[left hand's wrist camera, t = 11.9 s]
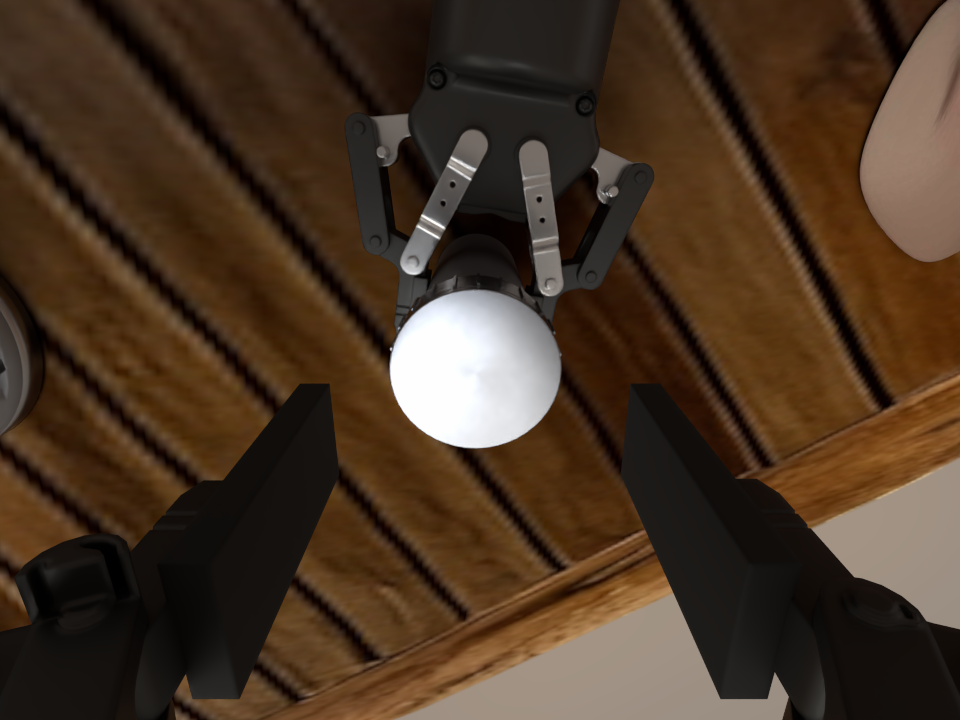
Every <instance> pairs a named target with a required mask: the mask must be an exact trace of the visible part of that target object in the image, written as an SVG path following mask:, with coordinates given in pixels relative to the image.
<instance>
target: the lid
mask: <svg viewBox="0 0 960 720" xmlns="http://www.w3.org/2000/svg"><path fill="white" fill-rule="evenodd" d="M397 329H398V330H399V332H398V334H397V335H396V337H395V339H394V341H393V343H392V346H391V348H390V350H391V355H390V363H389V374H390V381H391V386H392V390H393V393H394V396H395V398H396V400H397V402H398V404H399V406H400V408H401V409H402V411H403V412H404V414H405V415H406V416H407V417H408V419H409V420H410V421H411V422H412V423H413V424H414V425H415V426H416V427H417V428H419V429H420V430H421V431H423V432H424V433H425V434H427V435H429V436H430V437H432V438H434V439H436V440H438V441H441V442H443V443H446V444H449V445H453V446H457V447H463V448H489V447H494V446H499V445H502V444H505V443H508V442H510V441H513V440H515V439H517V438H519V437H521V436H522V435H524V434H526V433H527V432H528V431H530V430H531V429H532V428H533V427H535V426H536V425H537V424H538V423H539V422H540V421H541V420H542V419H543V417H544V416H545V415H546V413H547V412H548V411H549V409H550V407H551V406H552V404H553V402H554V400H555V398H556V395H557V393H558V389H559V385H560V380H561V357H560V356H561V351H560V349H559V347H558V344H557V342H556V339H555V337H554V335H555V334H556V333H555V331H554V328H553V326H552V324H551V322H550V319H546V317H545V314H544V313H543V311H542V309H541V306H540V304H539V302H538V301H536V302H535V301H534V300H533V298H532V297H530V296H529V295H528V294H527V293H526V292H525V291H524V290H523V288H522V287H521V286H520V287H517V286H516V285H513V284H511V283H509V282H507V281H505V280H503V278H502V277H499V278H495V277H490V276H482V275H480V273H477V275H469V276H461V277H457V275H456V276H454V278H452V279H449V280H447V281H444V282H442V283H440V284H438V285H436V283H435V284H433V286H432V288H431V289H429V290H428V291H427V292H425V293H424V294H423V295H422V296H421V297H420V298H419V297H417V298H416V299H415V301H414V304H413V306H412V307H411V308H410V310H409V311H408V313H407V315H406V314H404V315H403V318H402V320H401V322H400V324H399V326H398V328H397Z"/></svg>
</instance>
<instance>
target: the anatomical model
mask: <svg viewBox="0 0 960 720" xmlns="http://www.w3.org/2000/svg"><path fill="white" fill-rule="evenodd" d="M860 182H861V189H862V192H863V195H864V199H865V201H866V203H867V205H868V208H869V210H870V212H871V214H872V215H873V217H874V218H875V220H876V221H877V223H878V224H879V226H880V227H881V228H882V229H883V230H884V232H885V233H886V234H887V235H888V236H889V238H890V239H891V240H892V241H893V242H894V243H895V244H896V245H897V246H898V247H899V248H901V249H902V250H903V251H904V252H905V253H907V254H908V255H910V256H911V257H913V258H915V259H917V260H920V261H924V262H933V261H938V260H942V259H944V258H947V257H949V256H951V255H953V254H955V253H957V252H959V251H960V0H947V1H946V2H945V3H944V4H943V5H941V6H940V7H939V8H938V10H937V11H936V12H935V13H934V14H933V15H932V17H931V18H930V19H929V20H928V22H927V23H926V25H925V26H924V28H923V29H922V31H921V32H920V34H919V35H918V37H917V38H916V40H915V41H914V43H913V45H912V46H911V48H910V50H909V51H908V53H907V55H906V57H905V59H904V60H903V62H902V64H901V66H900V68H899V70H898V71H897V73H896V75H895V77H894V79H893V81H892V83H891V85H890V87H889V89H888V91H887V93H886V95H885V97H884V99H883V102H882V104H881V106H880V108H879V110H878V112H877V115H876V117H875V119H874V122H873V124H872V127H871V129H870V132H869V135H868V138H867V140H866V143H865V147H864V150H863V154H862V159H861V165H860Z"/></svg>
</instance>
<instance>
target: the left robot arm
mask: <svg viewBox="0 0 960 720" xmlns="http://www.w3.org/2000/svg"><path fill="white" fill-rule="evenodd" d="M42 377H43V360H42V352H41V347H40V343H39V339H38V336H37V333H36V330H35V328H34V326H33V323H32V321H31V319H30V317H29V315H28V313H27V311H26V309H25V308H24V306H23V304H22V303H21V301H20V300H19V298H18V297H17V295H16V294H15V293H14V291H13V290H12V289H11V287H10V286H9V285H8V284H7V283H6V282H5V280H4V279H3V278H2V277H1V276H0V436H1V435H3V434H5V433H6V432H8V431H10V430H11V429H13V428H14V427H16V426H17V425H18V424H19V423H21V422H22V420H23V419H24V418H25V417H26V416H27V415H28V414H29V412H30V411H31V410H32V408H33V406H34V404H35V402H36V400H37V398H38V395H39V393H40V389H41V384H42ZM338 476H339V469H338V459H337V450H336V441H335V432H334V422H333V413H332V404H331V395H330V385H329V384H299V386H298V387H297V388H296V389H295V391H294V392H293V393H292V394H291V396H290V397H289V398H288V399H287V401H286V402H285V403H284V405H283V406H282V407H281V408H280V410H279V411H278V412H277V413H276V415H275V416H274V417H273V418H272V420H271V421H270V422H269V423H268V425H267V426H266V427H265V428H264V430H263V431H262V432H261V433H260V435H259V436H258V437H257V438H256V440H255V441H254V442H253V444H252V445H251V446H250V447H249V449H248V450H247V451H246V452H245V454H244V455H243V456H242V457H241V459H240V460H239V461H238V462H237V464H236V465H235V466H234V467H233V469H232V470H231V471H230V472H229V474H228V475H227V476H226V477H225V479H224V480H223V481H202V482H201V483H199V484H198V485H196V486H195V487H193V488H191V489H190V490H188V491H187V492H185V493H184V494H182V495H181V496H180V497H179V498H178V499H177V500H176V501H175V502H174V504H173V505H172V506H171V507H170V508H169V509H168V510H167V511H166V515H165V516H162V517H161V518H160V519H159V521H158V522H157V523H156V524H155V525H154V526H153V530H150V531H149V532H148V533H147V534H146V535H145V536H144V537H143V539H142V540H141V541H140V542H139V543H138V544H137V545H136V547H135V548H134V549H133V550H132V551H131V552H129V548H128V545H127V542H126V541H125V540H124V539H122V538H121V537H120V536H118V535H112V534H105V533H101V534H93V535H85V536H81V537H78V538H75V539H71V540H68V541H65V542H62V543H60V544H58V545H56V546H54V547H52V548H50V549H48V550H46V551H44V552H42V553H40V554H39V555H38V556H36V557H35V558H33V559H32V560H31V561H29V562H28V563H27V564H25V565H24V566H23V568H22V569H21V570H20V571H19V572H18V574H17V575H16V576H15V577H14V579H15V582H16V584H17V587H18V589H19V592H20V595H21V597H22V600H23V602H24V605H25V607H26V610H27V613H28V615H29V618H30V620H31V623H32V624H31V625H28V626H23V627H19V628H15V629H10V630H6V631H2V632H0V720H176V717H175V710H174V705H173V702H172V697H173V695H174V693H175V692H176V690H177V688H178V686H179V685H180V683H181V681H182V679H183V678H184V676H185V674H186V676H187V680H188V684H189V687H190V691H191V695H192V699H240V697H241V694H242V692H243V690H244V688H245V685H246V683H247V681H248V679H249V676H250V674H251V672H252V670H253V667H254V665H255V663H256V660H257V658H258V656H259V654H260V651H261V649H262V647H263V645H264V642H265V640H266V638H267V636H268V633H269V631H270V629H271V627H272V624H273V622H274V620H275V618H276V615H277V613H278V611H279V609H280V606H281V604H282V602H283V600H284V597H285V595H286V593H287V591H288V588H289V586H290V584H291V582H292V579H293V577H294V575H295V573H296V570H297V568H298V566H299V564H300V561H301V559H302V557H303V555H304V552H305V550H306V548H307V546H308V543H309V541H310V539H311V537H312V534H313V532H314V530H315V528H316V525H317V523H318V521H319V519H320V516H321V514H322V512H323V510H324V507H325V505H326V503H327V501H328V498H329V496H330V494H331V492H332V489H333V487H334V485H335V483H336V480H337V478H338ZM621 476H622V478H623V480H624V483H625V485H626V487H627V489H628V492H629V494H630V496H631V498H632V501H633V503H634V505H635V507H636V510H637V512H638V514H639V516H640V519H641V521H642V523H643V525H644V528H645V530H646V532H647V534H648V537H649V539H650V541H651V543H652V546H653V548H654V550H655V552H656V555H657V557H658V559H659V561H660V564H661V566H662V568H663V570H664V573H665V575H666V577H667V579H668V582H669V584H670V586H671V588H672V591H673V593H674V595H675V597H676V600H677V602H678V604H679V606H680V609H681V611H682V613H683V615H684V618H685V620H686V622H687V624H688V627H689V629H690V631H691V633H692V636H693V638H694V640H695V642H696V645H697V647H698V649H699V651H700V654H701V656H702V658H703V660H704V663H705V665H706V667H707V669H708V672H709V674H710V676H711V678H712V681H713V683H714V685H715V687H716V690H717V692H718V694H719V697H720V699H767V698H768V695H769V691H770V687H771V683H772V680H773V676H774V672H775V673H776V675H777V677H778V678H779V680H780V682H781V684H782V685H783V687H784V689H785V690H786V692H787V694H788V696H789V698H788V702H787V705H786V709H785V712H784V716H783V719H782V720H960V629H956V628H951V627H947V626H943V625H938V624H934V623H930V622H927V621H926V620H925V619H924V617H923V616H922V615H921V613H920V612H919V610H918V609H917V608H916V607H914V606H913V605H912V604H911V603H909V602H908V601H907V600H906V599H905V598H903V597H902V596H901V595H899V594H897V593H895V592H893V591H891V590H890V589H888V588H886V587H884V586H882V585H880V584H877V583H874V582H871V581H868V580H865V579H862V578H855V577H853V575H852V574H851V573H850V572H849V571H848V570H847V569H846V568H845V566H844V565H843V564H842V563H841V562H840V561H839V560H838V559H837V558H836V556H835V555H834V554H833V553H832V552H831V551H830V550H829V548H828V547H827V546H826V545H825V544H824V543H823V542H822V541H821V539H820V538H819V537H818V536H817V535H816V534H815V533H814V532H813V530H812V529H811V528H808V527H807V524H806V523H805V522H804V520H803V519H802V518H801V517H800V516H799V515H798V514H795V510H794V509H793V508H792V507H791V506H790V505H789V504H788V502H787V501H786V500H785V499H784V498H783V497H782V496H781V495H780V493H778V492H776V491H775V490H773V489H772V488H770V487H769V486H767V485H765V484H764V483H762V482H761V481H759V480H758V479H735V477H734V476H733V475H732V474H731V472H730V471H729V470H728V469H727V467H726V466H725V465H724V464H723V462H722V461H721V460H720V459H719V457H718V456H717V455H716V454H715V452H714V451H713V450H712V449H711V447H710V446H709V445H708V444H707V442H706V441H705V440H704V438H703V437H702V436H701V435H700V433H699V432H698V431H697V430H696V428H695V427H694V426H693V425H692V423H691V422H690V421H689V420H688V418H687V417H686V416H685V415H684V413H683V412H682V411H681V410H680V408H679V407H678V406H677V405H676V403H675V402H674V401H673V399H672V398H671V397H670V396H669V394H668V393H667V392H666V391H665V389H664V388H663V387H662V386H661V384H631V385H630V395H629V404H628V413H627V422H626V432H625V441H624V450H623V459H622V469H621Z"/></svg>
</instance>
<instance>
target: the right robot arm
mask: <svg viewBox="0 0 960 720" xmlns="http://www.w3.org/2000/svg"><path fill="white" fill-rule="evenodd" d="M619 1H620V0H433V6H432V15H431V24H430V33H429V42H428V51H427V60H426V69H425V78H424V83H423V86H422V89H421V92H420V94H419V96H418V97H417V99H416V100H415V102H414V103H413V105H412V106H411V108H410V111H409V114H398V115H387V116H375V117H371V116H368V115H365V114H363V113H353V114H351V115H350V116H349V117H348V118H347V120H346V122H345V133H346V140H347V146H348V152H349V159H350V165H351V172H352V178H353V184H354V191H355V197H356V204H357V210H358V217H359V223H360V229H361V236H362V242H363V246H364V248H365V249H366V251H367V252H369V253H370V254H373V255H380V256H381V257H383V258H385V259H387V260H389V261H391V262H392V263H393V264H394V265H395V266H396V267H397V269H398V271H399V286H398V295H397V306H396V314H395V323H394V326H395V329H396V332H397V334H398V332H399V330H398V329H397V328H398V326H399V324H400V322H401V320H402V318H403V315H404V314H406V315H407V313H408V311H409V310H410V308H411V307H412V306H413V304H414V301H415V299H416V298H417V297H419V298H420V297H421V296H422V295H423V294H424V293H425V292H427V290H428V288H429V285H430V281H431V274H432V270H430V269H428V265H429V259H430V258H431V256H432V254H433V252H434V250H435V248H436V246H437V244H438V242H439V240H440V239H441V237H442V235H443V233H444V231H445V229H446V227H447V225H448V223H449V222H450V220H451V218H452V216H453V214H454V212H455V210H458V211H457V212H460V213H466V214H472V215H477V214H487V213H493V214H496V215H498V216H500V217H502V218H504V219H506V220H508V221H514V222H520V223H524V226H525V232H526V238H527V242H528V247H529V254H530V260H531V266H532V272H533V276H532V281H531V286H528V285H526V288H525V292H526V293H527V294H528V295H529V296H530V297H532V298H533V300H534V301H535V302H536V301H538V302H539V304H540V306H541V309H542V311H543V313H544V314H545V317H546V319H550V322H551V324H552V320H553V316H554V311H555V307H556V302H557V300H558V298H559V297H560V295H561V294H563V293H564V292H566V291H569V290H574V289H579V288H585V289H588V290H592V289H595V288H597V287H599V286H600V285H601V283H602V281H603V279H604V278H605V276H606V274H607V272H608V270H609V268H610V266H611V264H612V262H613V260H614V258H615V256H616V254H617V252H618V250H619V248H620V246H621V244H622V242H623V240H624V238H625V236H626V234H627V232H628V230H629V228H630V226H631V224H632V223H633V221H634V219H635V217H636V215H637V213H638V211H639V209H640V207H641V205H642V203H643V201H644V199H645V197H646V195H647V193H648V191H649V189H650V187H651V185H652V183H653V181H654V172H653V169H652V168H651V167H650V166H649V165H648V164H645V163H640V162H630V161H628V160H626V159H624V158H622V157H619V156H617V155H615V154H613V153H611V152H609V151H607V150H605V149H602V148H600V140H599V136H598V133H597V129H596V108H597V103H598V98H599V94H600V89H601V84H602V80H603V75H604V70H605V66H606V61H607V56H608V52H609V47H610V43H611V38H612V33H613V29H614V24H615V19H616V15H617V11H618V6H619ZM410 137H412V139H413V141H414V143H415V145H416V147H417V149H418V151H419V153H420V155H421V157H422V159H423V161H424V163H425V165H426V167H427V169H428V171H429V173H430V175H431V177H432V179H433V181H434V183H435V185H436V187H435V189H434V191H433V193H432V195H431V197H430V199H429V201H428V203H427V205H426V207H425V209H424V211H423V213H422V215H421V217H420V219H419V222H418V224H417V226H416V228H415V230H414V232H413V234H412V236H411V237H409V236H407V235H405V234H404V233H402V232H400V231H398V230H396V228H395V220H394V213H393V205H392V197H391V190H390V182H389V175H388V167H387V166H392V165H394V164H395V163H397V161H398V160H399V158H400V149H401V145H402V143H403V142H404V141H405V140H406V139H407V138H410ZM589 169H591V170H592V172H593V174H594V177H595V182H594V186H593V195H594V197H595V199H596V200H597V201H599V202H600V203H599V205H598V207H597V209H596V211H595V213H594V215H593V218H592V220H591V222H590V224H589V226H588V228H587V230H586V232H585V234H584V236H583V238H582V240H581V242H580V245H579V247H578V249H577V251H576V253H575V255H574V257H573V258H572V259H566V260H561V261H560V254H559V237H558V230H557V222H556V215H555V208H554V203H555V202H556V201H557V200H558V199H559V198H560V197H561V196H562V195H563V194H564V193H565V192H566V191H567V190H568V189H569V188H570V187H571V186H572V185H573V184H574V183H575V182H576V181H577V180H578V179H579V178H580V177H581V176H583V175H584V174H585V173H586V172H587V171H588V170H589Z"/></svg>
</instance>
